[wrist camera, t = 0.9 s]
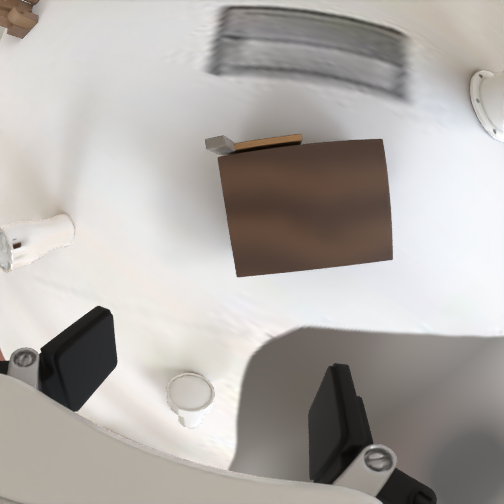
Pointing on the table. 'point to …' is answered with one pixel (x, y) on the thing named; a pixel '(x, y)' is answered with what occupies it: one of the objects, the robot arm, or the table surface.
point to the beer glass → (33, 240)
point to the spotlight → (190, 398)
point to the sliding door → (249, 144)
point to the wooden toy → (17, 16)
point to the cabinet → (307, 206)
